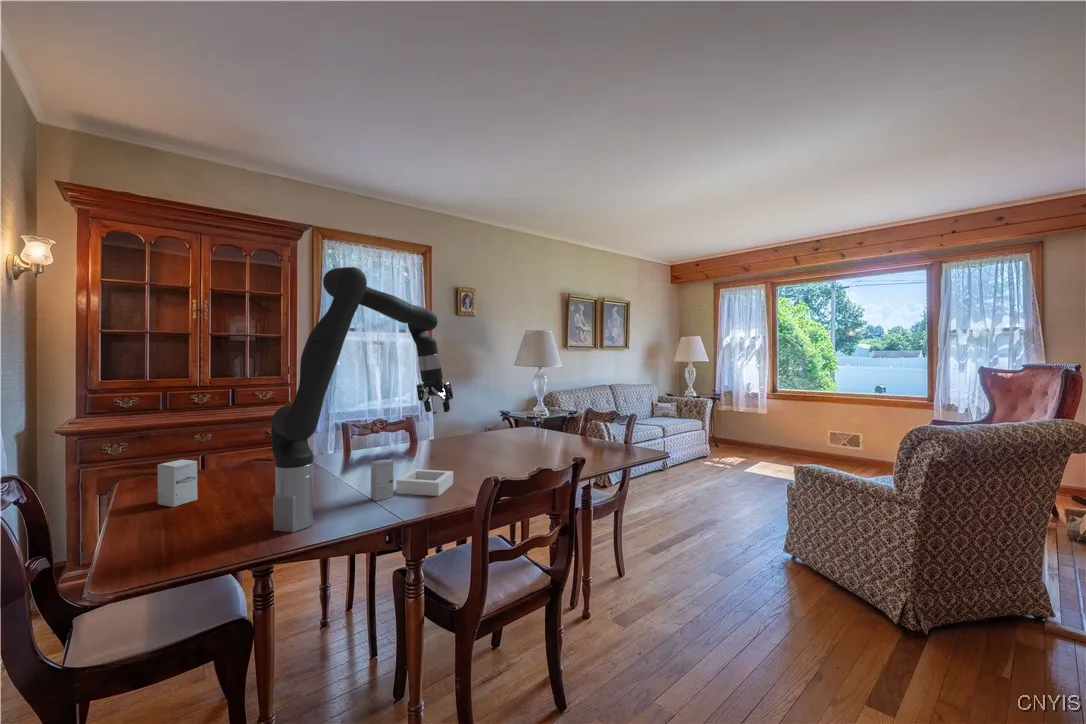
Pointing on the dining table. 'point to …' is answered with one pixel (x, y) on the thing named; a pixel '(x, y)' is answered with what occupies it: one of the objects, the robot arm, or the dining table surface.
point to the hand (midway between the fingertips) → (437, 411)
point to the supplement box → (177, 482)
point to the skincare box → (381, 479)
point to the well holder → (424, 482)
